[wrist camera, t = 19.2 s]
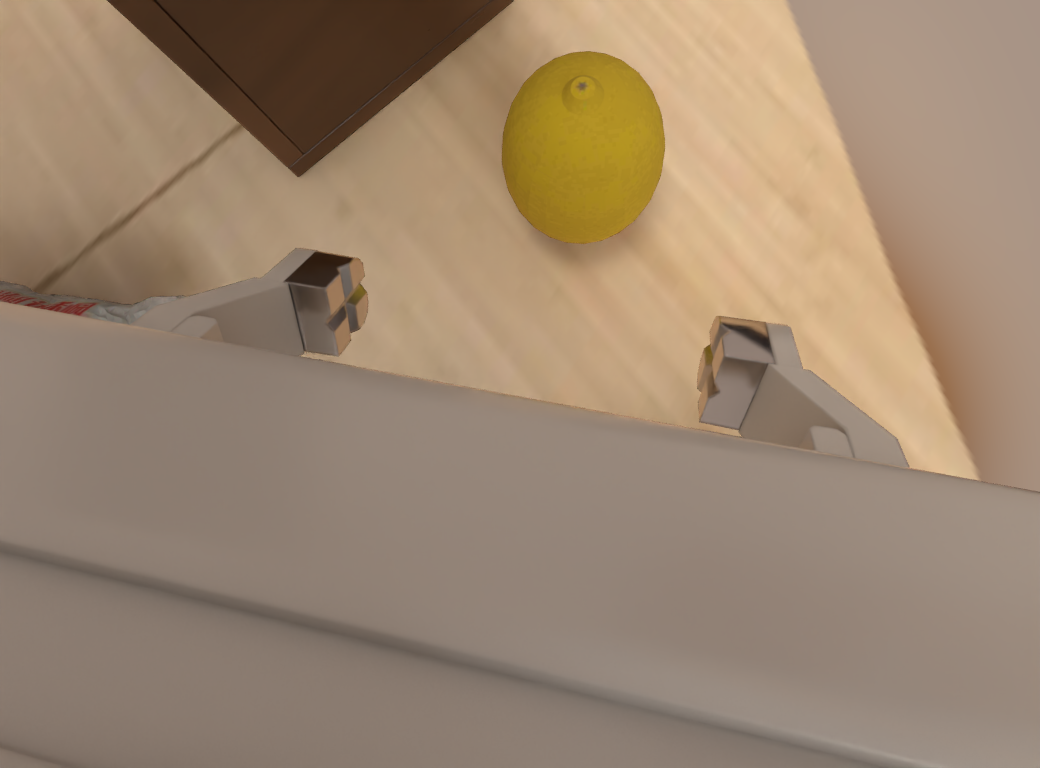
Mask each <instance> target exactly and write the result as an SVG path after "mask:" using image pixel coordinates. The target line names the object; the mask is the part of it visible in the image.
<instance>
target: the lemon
mask: <svg viewBox="0 0 1040 768" xmlns="http://www.w3.org/2000/svg"><path fill="white" fill-rule="evenodd" d="M664 152H665V138H664V130H663V121H662V116H661V112H660V109H659V106H658V104H657V102H656V99H655V97H654V94H653V92H652V90H651V89H650V87H649V86H648V84H647V83H646V82H645V80H644V79H643V78H642V77H641V75H640V74H639V73H638V72H637V71H636V70H634V69H633V68H632V67H630V66H629V65H628V64H626V63H625V62H624V61H622V60H620V59H617V58H615V57H613V56H610V55H608V54H604V53H597V52H590V51H586V52H575V53H569V54H567V55H564V56H561V57H558V58H555V59H553V60H552V61H550V62H548V63H547V64H545V65H544V66H542V67H540V68H539V69H538V70H536V71H535V72H534V73H533V74H532V75H531V76H530V77H529V78H528V79H527V80H526V81H525V82H524V84H523V86H522V87H521V89H520V91H519V92H518V94H517V96H516V97H515V99H514V101H513V102H512V104H511V107H510V110H509V114H508V117H507V120H506V124H505V127H504V132H503V144H502V165H503V170H504V175H505V179H506V184H507V188H508V190H509V193H510V194H511V196H512V198H513V200H514V202H515V204H516V206H517V208H518V209H519V211H520V212H521V214H522V215H523V216H524V217H525V218H526V219H527V220H528V221H529V222H530V223H531V224H532V225H533V227H535V228H536V229H538V230H539V231H541V232H543V233H544V234H546V235H547V236H549V237H551V238H554V239H557V240H560V241H563V242H567V243H581V244H586V243H591V242H596V241H602V240H604V239H606V238H608V237H611V236H613V235H615V234H617V233H619V232H620V231H622V230H623V229H624V228H626V227H627V226H628V225H629V224H631V223H632V222H633V221H635V219H636V218H637V217H638V216H639V214H640V213H641V212H642V211H643V209H644V208H645V207H646V205H647V204H648V203H649V201H650V200H651V198H652V195H653V193H654V191H655V188H656V186H657V184H658V181H659V179H660V176H661V172H662V165H663V159H664Z"/></svg>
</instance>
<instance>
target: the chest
mask: <svg viewBox="0 0 1040 768" xmlns="http://www.w3.org/2000/svg"><path fill="white" fill-rule="evenodd" d="M107 1H108V2H109V3H110V4H111V5H113V6H114V7H115V8H116V9H117V10H118V11H119V12H120V13H121V14H122V15H123V16H124V17H125V18H127V19H128V20H129V21H130V22H131V23H132V24H133V25H134V26H135V27H136V28H137V29H138V30H140V31H141V32H142V33H143V34H144V35H145V36H146V37H147V38H148V39H149V40H150V41H151V42H152V43H154V44H155V45H156V46H157V47H158V48H159V49H160V50H161V51H162V52H163V53H164V54H165V55H167V56H168V57H169V58H170V59H171V60H172V61H173V62H174V63H175V64H176V65H177V66H178V67H180V68H181V69H182V70H183V71H184V72H185V73H186V74H187V75H188V76H189V77H190V78H191V79H192V80H194V81H195V82H196V83H197V84H198V85H199V86H200V87H201V88H202V89H203V90H204V91H205V92H207V93H208V94H209V95H210V96H211V97H212V98H213V99H214V100H215V101H216V102H217V103H218V104H219V105H221V106H222V107H223V108H224V109H225V110H226V111H227V112H228V113H229V114H230V115H231V116H232V117H234V118H235V119H236V120H237V121H238V122H239V123H240V124H241V125H242V126H243V127H244V128H245V129H247V130H248V131H249V132H250V133H251V134H252V135H253V136H254V137H255V138H256V139H257V140H258V141H259V142H261V143H262V144H263V145H264V146H265V147H266V148H267V149H268V150H269V151H270V152H271V153H272V154H274V155H275V156H276V157H277V158H278V159H279V160H280V161H281V162H282V163H283V164H284V165H285V166H286V167H288V168H289V169H290V170H291V171H292V172H293V173H294V174H295V175H296V176H297V177H299V176H301V175H302V174H303V173H304V172H305V171H307V170H308V169H309V168H310V167H312V166H313V165H314V164H315V163H316V162H318V161H319V160H320V159H321V158H323V157H324V156H325V155H326V154H327V153H329V152H330V151H331V150H332V149H333V148H335V147H336V146H337V145H338V144H340V143H341V142H342V141H343V140H344V139H346V138H347V137H348V136H349V135H351V134H352V133H353V132H354V131H355V130H357V129H358V128H359V127H360V126H361V125H363V124H364V123H365V122H366V121H368V120H369V119H370V118H371V117H372V116H374V115H375V114H376V113H377V112H379V111H380V110H381V109H382V108H383V107H385V106H386V105H387V104H388V103H390V102H391V101H392V100H393V99H394V98H396V97H397V96H398V95H399V94H400V93H402V92H403V91H404V90H405V89H407V88H408V87H409V86H410V85H411V84H413V83H414V82H415V81H416V80H418V79H419V78H420V77H421V76H422V75H424V74H425V73H426V72H427V71H428V70H430V69H431V68H432V67H433V66H435V65H436V64H437V63H438V62H439V61H441V60H442V59H443V58H444V57H446V56H447V55H448V54H449V53H450V52H452V51H453V50H454V49H455V48H456V47H458V46H459V45H460V44H461V43H463V42H464V41H465V40H466V39H467V38H469V37H470V36H471V35H472V34H474V33H475V32H476V31H477V30H478V29H480V28H481V27H482V26H483V25H485V24H486V23H487V22H488V21H489V20H491V19H492V18H493V17H494V16H495V15H497V14H498V13H499V12H500V11H502V10H503V9H504V8H505V7H506V6H508V5H509V4H510V3H511V2H513V1H514V0H107Z"/></svg>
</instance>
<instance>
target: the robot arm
mask: <svg viewBox="0 0 1040 768" xmlns="http://www.w3.org/2000/svg"><path fill="white" fill-rule="evenodd" d="M364 277H365V273H364V267H363V263H362V262H361V260H360V259H359V258H355V257H349V256H344V255H338V254H333V253H327V252H321V251H317V250H310V249H303V248H295V249H294V250H293V251H292V252H291V253H289V254H288V255H287V256H286V257H285V258H284V259H283V260H281V261H280V262H279V263H278V264H277V265H276V266H274V267H273V268H272V269H271V270H270V271H269V272H268V273H266V274H265V275H264V276H263V277H262V278H255V277H254V278H251V279H247V280H244V281H240V282H237V283H233V284H230V285H226V286H223V287H219V288H216V289H213V290H209V291H206V292H202V293H199V294H195V295H192V296H188V297H185V298H181V299H178V300H174V301H171V302H167V303H164V304H160V305H157V306H154V307H153V308H151V309H150V310H149V311H147V312H146V313H145V314H143V315H142V316H141V317H139V318H138V319H137V320H135V321H134V322H133V323H131V324H130V325H127V324H121V323H116V322H110V321H105V320H100V319H94V318H89V317H83V316H78V315H72V314H67V313H61V312H56V311H51V310H45V309H40V308H34V307H29V306H23V305H18V304H13V303H7V302H2V301H0V768H1040V492H1037V491H1031V490H1026V489H1021V488H1015V487H1010V486H1005V485H999V484H994V483H988V482H983V481H977V480H972V479H967V478H961V477H956V476H950V475H945V474H939V473H934V472H928V471H923V470H918V469H912V468H910V467H909V465H908V462H907V460H906V458H905V455H904V453H903V451H902V448H901V446H900V444H899V441H898V439H897V438H896V437H895V436H893V435H892V434H891V433H889V432H888V431H887V430H886V429H884V428H883V427H882V426H881V425H879V424H878V423H877V422H875V421H874V420H873V419H872V418H870V417H869V416H868V415H867V414H865V413H864V412H863V411H861V410H860V409H859V408H858V407H856V406H855V405H854V404H853V403H851V402H850V401H849V400H847V399H846V398H845V397H844V396H842V395H841V394H840V393H839V392H837V391H836V390H835V389H833V388H832V387H831V386H830V385H828V384H827V383H826V382H824V381H823V380H822V379H821V378H819V377H818V376H817V375H816V374H814V373H813V372H812V371H810V370H805V369H803V367H802V363H801V360H800V357H799V353H798V350H797V347H796V343H795V340H794V337H793V333H792V330H791V327H790V326H788V325H784V324H775V323H767V322H760V321H753V320H746V319H738V318H731V317H723V316H716V317H715V319H714V321H713V324H712V327H711V329H710V345H708V346H707V347H706V348H704V350H703V353H702V357H701V360H700V364H699V369H698V376H697V389H698V390H699V391H700V392H701V395H700V398H699V401H698V409H699V422H701V423H706V424H711V425H715V426H720V427H725V428H730V429H735V430H739V433H740V434H741V436H742V437H738V436H732V435H727V434H721V433H716V432H710V431H705V430H700V429H694V428H689V427H683V426H678V425H672V424H667V423H661V422H656V421H650V420H645V419H639V418H634V417H629V416H623V415H618V414H612V413H607V412H601V411H596V410H590V409H585V408H579V407H574V406H568V405H563V404H558V403H552V402H547V401H541V400H536V399H530V398H525V397H519V396H514V395H508V394H503V393H498V392H492V391H487V390H481V389H476V388H470V387H465V386H459V385H454V384H448V383H443V382H438V381H432V380H427V379H421V378H416V377H410V376H405V375H399V374H394V373H388V372H383V371H378V370H372V369H367V368H361V367H356V366H350V365H345V364H339V363H334V362H328V361H323V360H318V359H312V358H307V357H301V356H300V355H302V354H303V353H304V351H306V352H312V353H319V354H325V355H332V356H338V357H339V356H340V354H341V353H342V352H343V350H344V349H345V348H346V346H347V345H348V344H349V343H350V341H351V335H350V333H352V332H355V331H357V330H359V329H360V328H361V327H362V325H363V324H364V322H365V319H366V316H367V313H368V294H367V292H366V290H365V289H364V288H363V286H362V285H361V284H360V282H361V281H362V280H363V278H364Z"/></svg>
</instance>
